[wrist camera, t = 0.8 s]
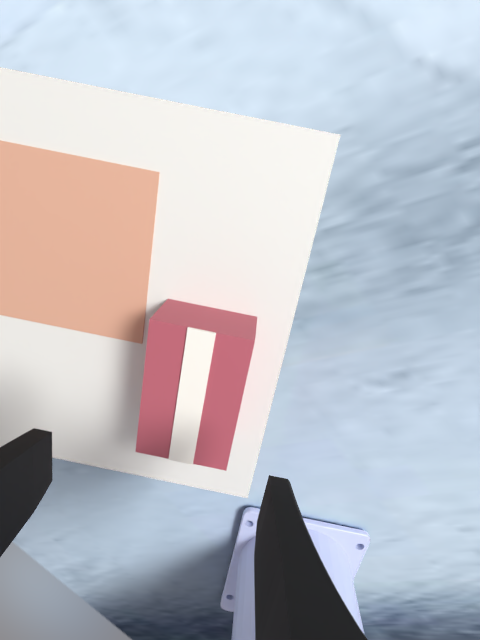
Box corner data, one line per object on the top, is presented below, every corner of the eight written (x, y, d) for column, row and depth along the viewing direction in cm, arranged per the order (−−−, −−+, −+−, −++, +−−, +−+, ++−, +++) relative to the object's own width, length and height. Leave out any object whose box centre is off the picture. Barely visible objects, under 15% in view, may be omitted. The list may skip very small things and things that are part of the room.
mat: (248, 490, 23) (247, 499, 22) (-4, 438, 23) (-12, 445, 22) (337, 136, 16) (340, 134, 15) (-28, 64, 16) (-40, 59, 15)
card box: (232, 431, 20) (226, 472, 18) (153, 415, 20) (134, 453, 18) (257, 316, 18) (254, 341, 15) (168, 298, 18) (148, 319, 15)
